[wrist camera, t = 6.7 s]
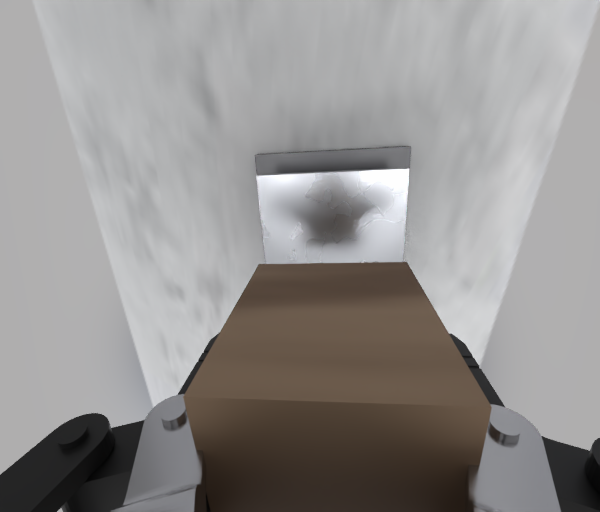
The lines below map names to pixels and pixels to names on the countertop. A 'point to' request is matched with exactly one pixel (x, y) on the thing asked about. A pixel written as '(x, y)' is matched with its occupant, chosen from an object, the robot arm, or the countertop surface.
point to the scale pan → (334, 216)
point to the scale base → (334, 160)
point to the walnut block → (336, 396)
